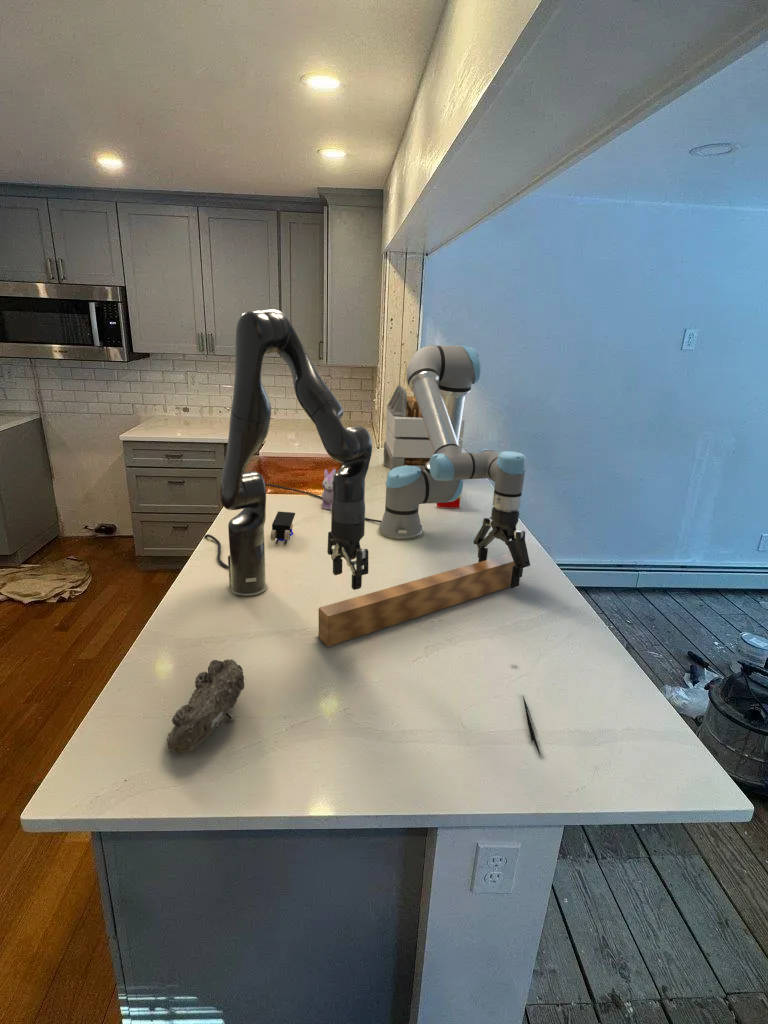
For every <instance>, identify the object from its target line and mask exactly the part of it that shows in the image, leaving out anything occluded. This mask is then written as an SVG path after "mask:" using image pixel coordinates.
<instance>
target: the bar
mask: <svg viewBox="0 0 768 1024" xmlns="http://www.w3.org/2000/svg"><path fill="white" fill-rule="evenodd" d="M519 563H520V562H519ZM513 566H515V563H514V561H513V558H512V556H511V553H507V554H502V555H499V556H495V557H492V558H487V560H485V561H481V562H478V561H477V562H475V563H471V564H467V565H464V566H460V567H457V568H454V569H451V570H446V571H444V572H440V573H436V574H432V575H429V576H426V577H422V578H418V579H414V580H412V581H411V580H410V581H408V582H404V583H401V584H398V585H394V586H390V587H387V588H383V589H380V590H376V591H372V592H369V593H366V594H362V595H359V596H356V597H352V598H349V599H345V600H341V601H337V602H334V603H331V604H327V605H325V606H324V605H323V606H321V607H318V639H319V640H320V641H321V642H322V643H323V644H325V645H326V647H331V646H334V645H337V644H340V643H344V642H346V641H349V640H352V639H355V638H358V637H362V636H364V635H368V634H370V633H373V632H377V631H379V630H382V629H385V628H389V627H392V626H395V625H399V624H401V623H403V622H407V621H409V620H412V619H416V618H419V617H421V616H425V615H427V614H431V613H433V612H437V611H439V610H443V609H447V608H448V607H452V606H455V605H458V604H461V603H464V602H468V601H470V600H474V599H476V598H479V597H482V596H485V595H488V594H491V593H494V592H497V591H501V590H503V589H507V588H509V587H510V585H511V578H512V570H513ZM510 588H511V587H510Z"/></svg>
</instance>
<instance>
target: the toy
mask: <svg viewBox="0 0 768 1024" xmlns="http://www.w3.org/2000/svg"><path fill="white" fill-rule="evenodd" d="M461 495H462V494H461ZM461 495H460V496H459V498H458V499H456V500H455V501H452V502H446V503H436V508H447V509H448V508H449V509H450V508H452V509H460V507H461V505H460V504H461Z"/></svg>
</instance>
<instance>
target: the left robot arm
mask: <svg viewBox="0 0 768 1024" xmlns="http://www.w3.org/2000/svg"><path fill="white" fill-rule="evenodd" d="M275 353H276V354H277V355H279V357H280V358H281V359H282V360H283V361H284V362H285V364H286V365H287V367H288V369H289V370H290V373H291V378H292V383H293V389H294V393H295V397H296V399H297V401H298V403H299V405H300V406H301V408H302V409H303V411H304V412H305V413H306V415H307V416H308V417H309V419H310V420H311V422H312V423H313V424H314V425H315V427H316V430H317V433H318V435H319V438H320V440H321V443H322V446H323V447H324V449H325V452H326V453H327V454H328V455H329V457H330V458H332V460H334V461H335V462H337V463H339V464H341V467H340V468H339V469H337V470H336V473H335V474H334V477H333V500H332V508H331V509H330V511H331V517H330V520H331V521H330V531H328V533H327V550H326V551H327V555H328V556H330V559H331V560H332V575H334V576H338V575H341V574H342V573H343V559H344V560H345V561H346V565H347V567H349V568H350V570H351V589H352V590H353V591H356V590H359V589H361V588H362V586H363V585H362V584H363V576H364V575H368V574H369V549H368V548H361V542H360V541H361V540H362V539H363V538H364V537H365V531H366V530H365V527H366V520H365V518H366V502H365V500H366V499H365V494H366V493H365V491H366V490H365V488H366V482H365V481H366V476H367V474H368V471H369V466H370V462H371V458H372V453H373V440H372V436H371V434H370V432H369V431H368V430H367V428H365V427H363V426H361V425H351V426H348V427H344V425H343V423H342V421H341V420H342V418H343V417H344V408H343V407H342V405H341V402H339V400H338V399H337V398H336V396H335V395H334V393H332V391H331V390H330V388H329V387H328V386H327V385H326V383H325V381H324V380H323V379H322V378H321V375H320V374H319V372H318V371H317V369H316V367H315V366H314V364H313V362H312V361H311V358H310V356H309V355H308V353H307V351H306V348H305V347H304V345H303V343H302V341H301V340H300V338H299V336H298V334H297V331H296V330H295V328H294V326H293V324H292V323H291V321H290V320H289V318H288V317H287V316H286V315H285V313H284V312H282V311H281V310H278V309H275V308H273V309H272V308H270V309H255V310H249V311H245V312H244V313H242V314H241V315H240V316H239V319H238V321H237V323H236V331H235V363H234V364H235V368H234V369H235V371H234V383H233V395H232V402H231V408H230V416H229V417H230V418H229V431H228V440H227V446H226V452H225V453H226V454H225V458H224V463H223V466H222V467H223V468H222V471H221V477H220V481H219V499H220V503H221V505H222V506H223V508H225V510H228V511H238V510H240V512H239V513H238V514H237V515H235V516H233V517H232V518H231V519H230V520H229V522H228V524H227V525H228V526H227V529H228V531H227V532H228V547H229V555H228V556H227V564H226V563H225V562H223V561H222V559H221V554H222V550H221V547H222V545H221V542H220V540H218V539H217V537H215V536H213V535H211V534H205V535H204V536H203V538H204V537H205V538H204V539H207V538H210V539H212V540H213V541H214V542H215V543H216V544H217V556H216V559H217V562H218V563H219V564H220V565H221V566H222V567H224V568H225V569H227V570H228V583H229V588H230V589H231V592H232V593H233V594H235V595H237V596H241V597H253V596H258V595H260V594H262V593H264V592H265V591H266V589H267V582H266V581H267V580H266V579H267V578H266V553H265V552H266V550H265V549H266V548H265V547H266V545H265V525H266V520H267V519H266V518H267V516H266V515H267V512H266V511H267V510H266V509H267V487H266V486H267V485H265V483H266V481H265V479H264V477H263V475H262V474H261V473H259V471H256V470H249V471H245V470H246V467H247V465H248V463H249V462H250V460H251V459H252V458H253V456H254V455H255V454H256V452H258V450H259V449H260V447H261V446H262V445H263V443H264V441H266V438H267V436H268V433H269V430H270V423H271V417H272V405H271V401H270V399H269V395H268V394H267V392H266V389H265V387H264V384H263V380H262V368H263V362H264V357H265V355H269V354H275ZM333 546H334V548H333ZM355 566H356V567H355Z"/></svg>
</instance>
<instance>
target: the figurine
mask: <svg viewBox="0 0 768 1024" xmlns="http://www.w3.org/2000/svg"><path fill="white" fill-rule="evenodd" d="M336 472H337V469H336V468H333V469H332V470H331V471H330V472H329V470H328V469H326V468H325V469H324V472H323V474H324V475H323V476H324V479H323V481H322V483H321V484H322V485H321V486H322V488H323V491H322V493H321V497H322V503H321V507H322V509H325V510H331V508H332V500H333V477H334V474H335V473H336Z"/></svg>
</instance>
